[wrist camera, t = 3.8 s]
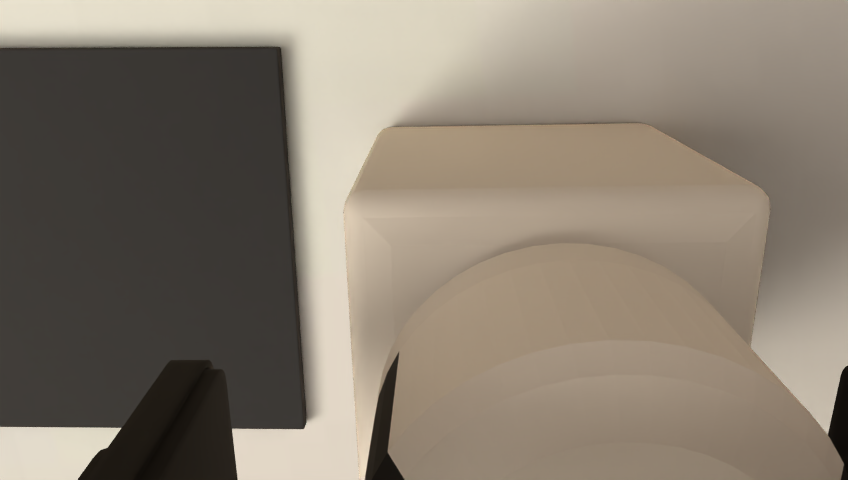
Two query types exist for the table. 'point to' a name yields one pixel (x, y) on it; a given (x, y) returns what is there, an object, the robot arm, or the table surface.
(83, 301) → the desk mat
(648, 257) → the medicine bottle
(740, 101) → the table surface
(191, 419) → the robot arm
